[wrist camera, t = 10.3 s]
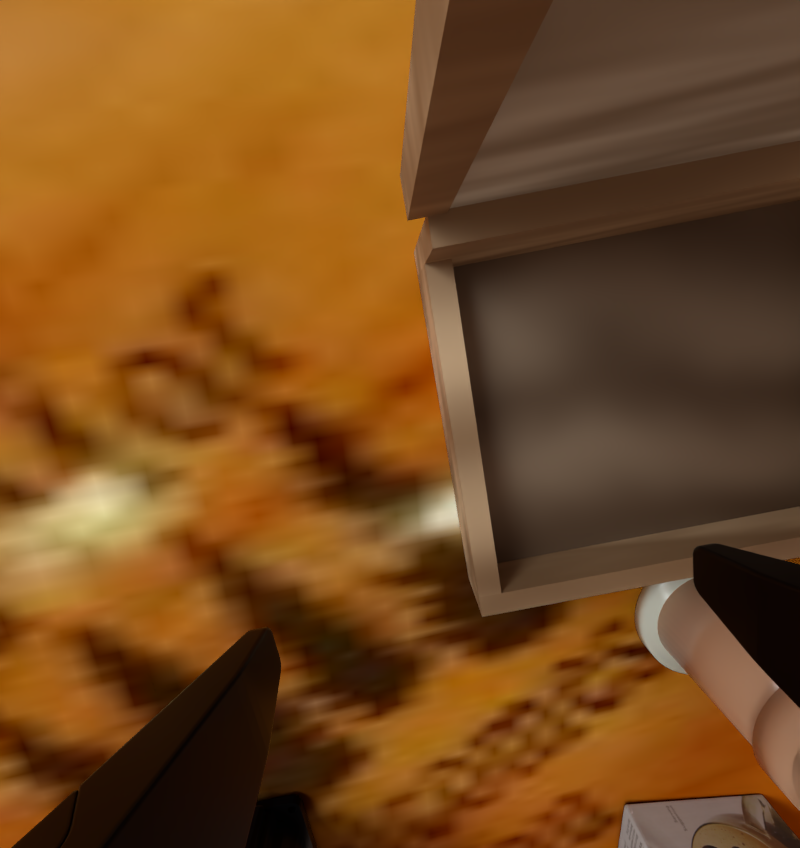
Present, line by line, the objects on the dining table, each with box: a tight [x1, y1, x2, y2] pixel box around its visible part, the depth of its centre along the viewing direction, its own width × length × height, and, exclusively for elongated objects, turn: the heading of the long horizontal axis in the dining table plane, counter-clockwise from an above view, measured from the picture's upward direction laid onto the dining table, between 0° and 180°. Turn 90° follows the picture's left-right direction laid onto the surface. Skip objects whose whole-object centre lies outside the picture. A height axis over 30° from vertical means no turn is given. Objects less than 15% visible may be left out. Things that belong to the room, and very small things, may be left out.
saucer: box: [635, 577, 693, 674], centre depth 21 cm, size 7×7×1 cm
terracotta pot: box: [657, 579, 800, 810], centre depth 17 cm, size 6×6×7 cm
